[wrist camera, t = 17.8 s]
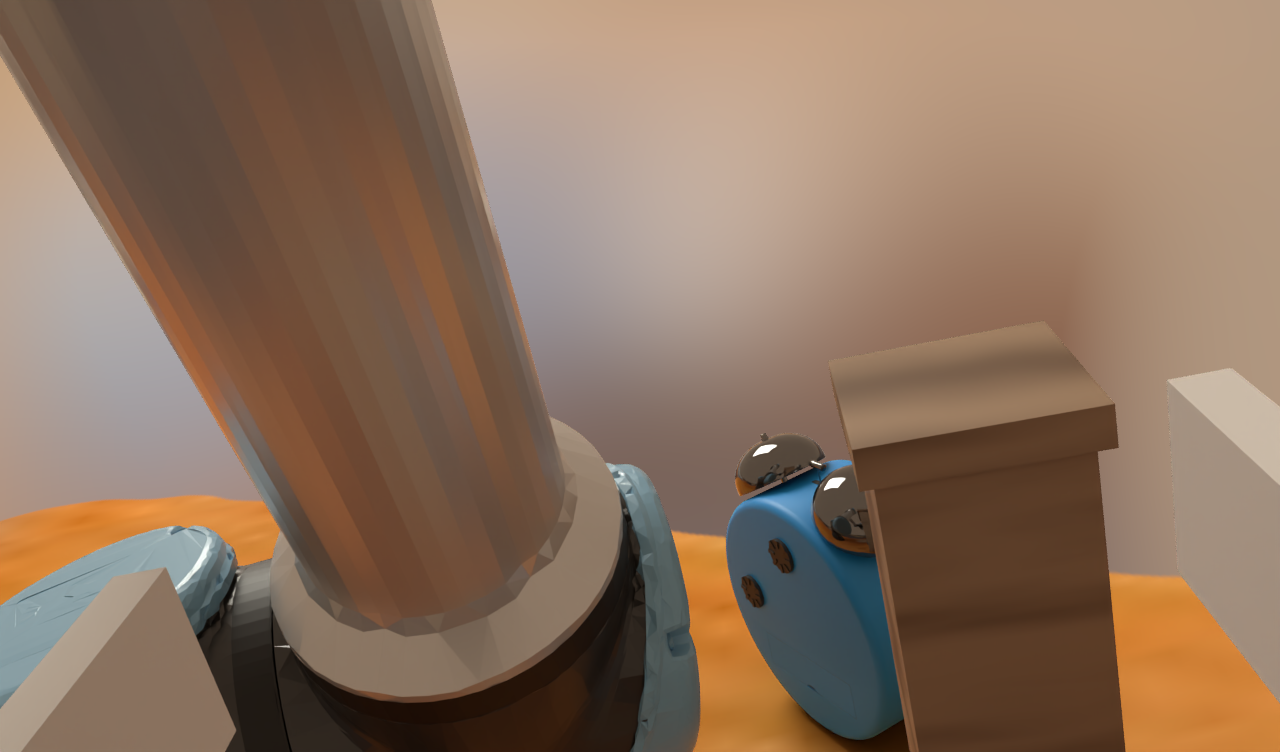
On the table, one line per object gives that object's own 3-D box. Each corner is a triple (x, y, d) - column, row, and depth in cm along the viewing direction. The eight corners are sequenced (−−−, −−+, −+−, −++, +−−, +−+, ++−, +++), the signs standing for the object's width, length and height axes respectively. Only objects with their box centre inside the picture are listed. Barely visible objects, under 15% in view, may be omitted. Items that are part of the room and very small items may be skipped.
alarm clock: (994, 735, 56) (956, 466, 51) (898, 796, 54) (848, 520, 49) (831, 630, 68) (786, 400, 62) (745, 677, 65) (692, 442, 60)
